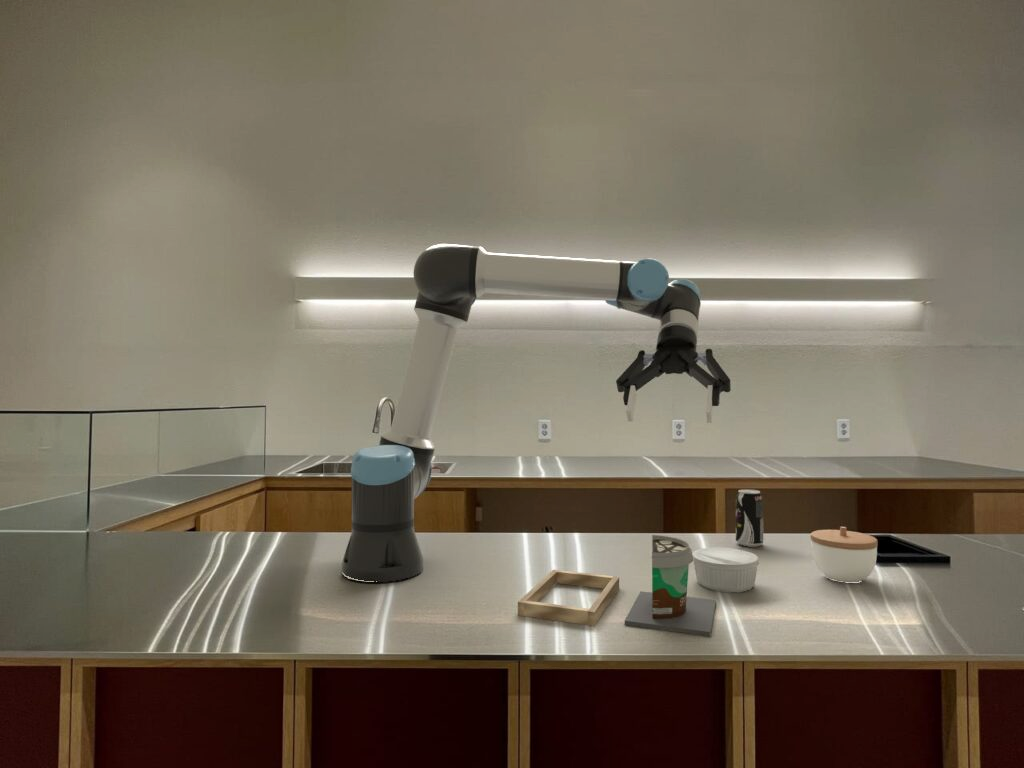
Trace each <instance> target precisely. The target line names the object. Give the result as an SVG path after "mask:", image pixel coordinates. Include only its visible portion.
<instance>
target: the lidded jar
mask: <svg viewBox="0 0 1024 768" xmlns="http://www.w3.org/2000/svg"><path fill="white" fill-rule="evenodd" d="M810 540H811V546H810V547H811V554H812V558H813V561H814V564H815V566H816V567H817V569H818V570H819V571H820V572H821V573H822V574H823V575H824V577H825V576H826V577H828V578H830V579H834V580H837V581H843V582H859V581H862V580H863V581H864V580H866V579H867V578H868V577H869V576H870V575H871V574H872V572H873V571H874V569H875V567H876V563H877V557H878V545H879V544H878V543H879V542H878V541H879V540H878V539H877V538H876V537H875V536H872V535H870V534H867V533H862V532H858V531H851V530H847V527H846V526H840V527H839V529H817V530H814V531H812V532H811V533H810Z"/></svg>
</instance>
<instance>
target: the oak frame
mask: <svg viewBox="0 0 1024 768" xmlns="http://www.w3.org/2000/svg"><path fill="white" fill-rule="evenodd" d="M557 584H561V585H563V584H564V585H569V584H570V585H571V586H578V587H579V586H580V587H589V588H594V589H595V588H597V589H602V591H601V593H600V594H599V595H598V597H597V598H596V599H595V601H594V602H593V604H592V605H591V606H590V607H589V608H585V607H578V606H571V605H563V604H554V603H548V602H540V601H541V599H543V597H545V595H546V594H548V592H550V590H551V589H553V587H555V585H557ZM619 590H620V576H614V575H603V574H597V573H596V574H594V573H587V572H577V571H569V570H567V571H566V570H559V569H552V570H551V571H550V572H548V574H546V576H544V577H543V578H542V579H541V580H539V581H538V583H536V585H534V587H533V588H531V589H530V590H529V591H528V592H527V593H526V594H524V596H523V597H522V598H520V599H519V600H518V601H517V616H521V617H528V618H538V619H545V620H550V621H556V622H557V621H558V622H559V621H560V622H564V623H565V622H566V623H571V624H578V625H579V624H580V625H584V626H585V625H586V626H593V627H594V626H596V624H597V623H598V621H599V620H600V618H601V617H602V615H603V614H604V613H605V611H606V609H607V608H608V606H609V605H610V603H611V601H612V600H613V599H614V597H615V595H616V594H617V593H618V591H619Z"/></svg>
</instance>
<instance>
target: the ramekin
mask: <svg viewBox="0 0 1024 768" xmlns="http://www.w3.org/2000/svg"><path fill="white" fill-rule="evenodd" d="M692 555H693V566H694V573H695V576H696V580H697V582H698V584H699V585H700V586H701V587H704V588H705V589H708V590H712V591H715V592H720V591H721V593H731V592H737V593H744V592H743V591H745V592H747V590H748V591H750V590H751V589H752V588H753V587H754V586H755V583H756V578H757V572H758V566H759V564H760V561H759V560H760V559H759V557H758V556H757V555H756V554H755V553H752V552H750V551H746V550H742V549H736V548H731V547H705V548H699V549H696V550H693V551H692Z"/></svg>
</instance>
